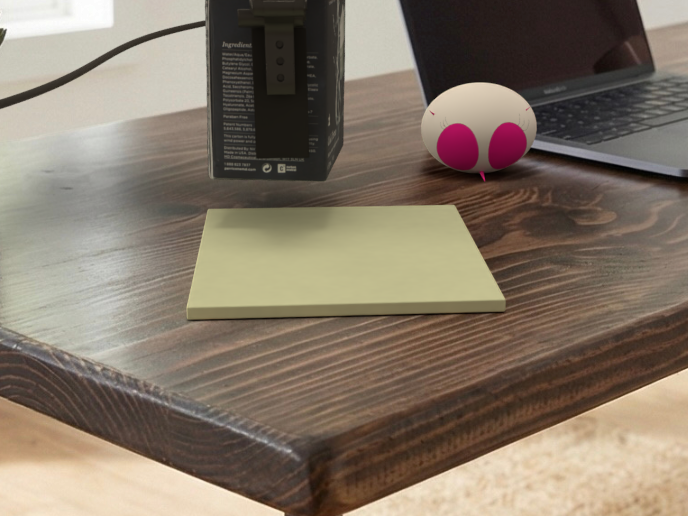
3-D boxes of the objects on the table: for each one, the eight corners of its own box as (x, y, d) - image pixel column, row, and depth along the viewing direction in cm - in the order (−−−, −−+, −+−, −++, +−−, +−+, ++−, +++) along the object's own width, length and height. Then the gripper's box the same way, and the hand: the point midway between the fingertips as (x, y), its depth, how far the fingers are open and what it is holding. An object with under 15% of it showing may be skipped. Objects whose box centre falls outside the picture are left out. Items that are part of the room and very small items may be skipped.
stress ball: (425, 226, 85) (424, 155, 80) (419, 138, 90) (418, 65, 84) (540, 221, 85) (547, 150, 80) (528, 134, 90) (534, 61, 84)
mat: (208, 219, 73) (207, 208, 73) (454, 214, 75) (454, 204, 74) (186, 320, 56) (186, 307, 56) (505, 312, 58) (506, 299, 58)
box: (332, 185, 68) (328, -23, 64) (206, 183, 68) (196, -25, 64) (349, 146, 78) (347, -36, 74) (239, 144, 78) (232, -38, 74)
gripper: (357, -338, 54) (363, 179, 62) (333, -275, 76) (339, 102, 84) (175, -343, 53) (203, 182, 61) (203, -278, 75) (221, 103, 83)
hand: (281, 136), depth 72 cm, fingers closed on box, 11 cm apart
